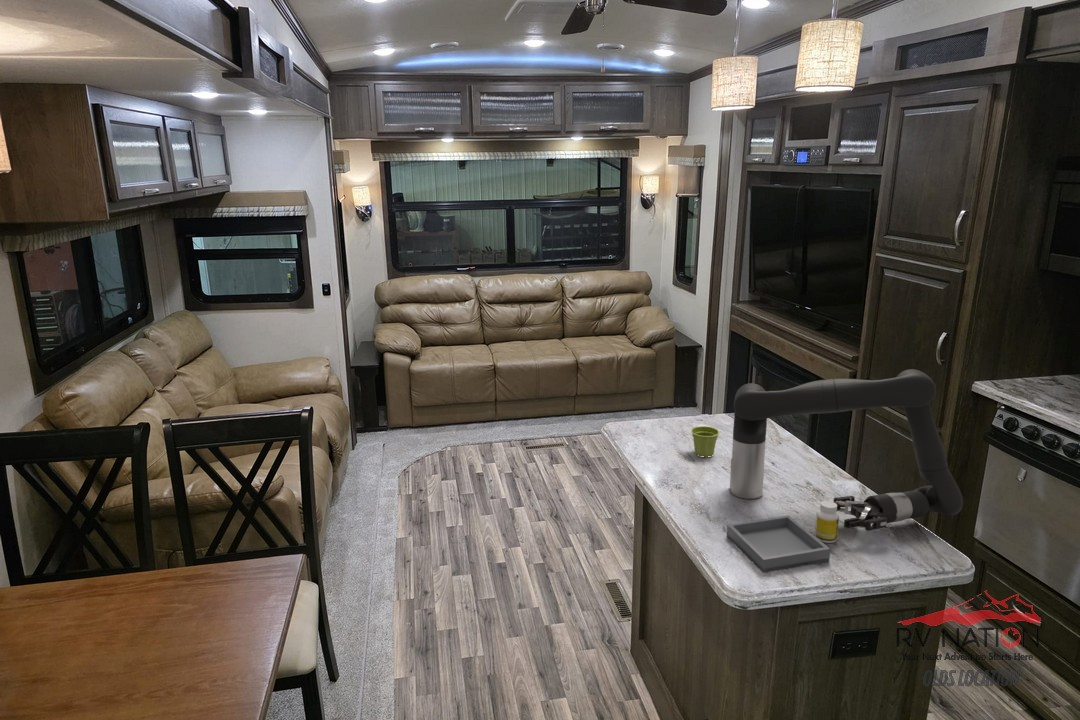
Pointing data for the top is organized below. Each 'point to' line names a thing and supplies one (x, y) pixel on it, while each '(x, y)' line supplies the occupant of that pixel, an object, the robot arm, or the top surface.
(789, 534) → the bin
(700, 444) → the plant pot
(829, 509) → the supplement bottle
